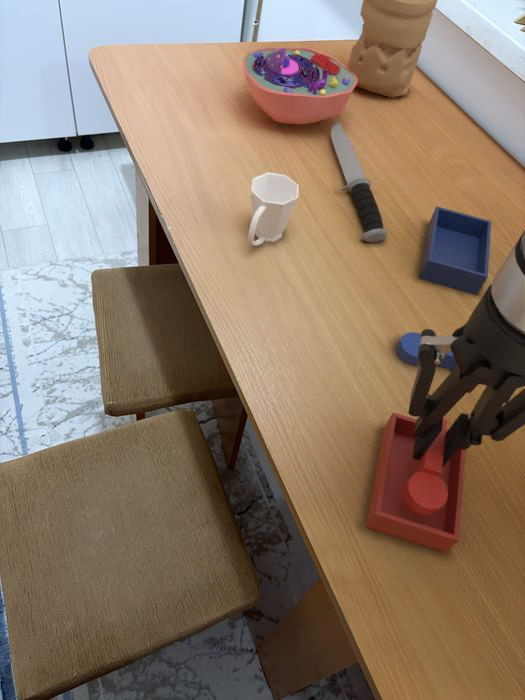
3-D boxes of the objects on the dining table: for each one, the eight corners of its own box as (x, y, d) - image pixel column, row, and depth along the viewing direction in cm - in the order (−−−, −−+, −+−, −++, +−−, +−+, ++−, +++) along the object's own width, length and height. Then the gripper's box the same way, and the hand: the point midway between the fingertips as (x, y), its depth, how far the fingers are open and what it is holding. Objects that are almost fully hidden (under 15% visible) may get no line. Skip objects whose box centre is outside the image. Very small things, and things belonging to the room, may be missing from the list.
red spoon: (412, 423, 64) (420, 411, 62) (448, 434, 64) (457, 423, 62) (400, 508, 58) (408, 498, 56) (439, 521, 58) (449, 511, 56)
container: (377, 64, 121) (404, -33, 107) (419, 94, 116) (453, -4, 101) (331, 77, 116) (353, -23, 101) (373, 109, 110) (402, 8, 96)
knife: (358, 247, 88) (390, 242, 88) (360, 233, 86) (393, 228, 86) (315, 129, 104) (343, 126, 105) (316, 115, 102) (344, 111, 102)
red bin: (445, 552, 61) (458, 540, 58) (365, 527, 61) (375, 514, 58) (454, 449, 68) (467, 434, 65) (383, 428, 69) (392, 412, 66)
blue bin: (477, 294, 84) (487, 277, 81) (419, 278, 84) (427, 260, 82) (481, 239, 91) (491, 221, 88) (428, 224, 92) (436, 206, 89)
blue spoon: (474, 359, 77) (482, 347, 75) (472, 383, 74) (481, 371, 72) (398, 336, 77) (404, 324, 75) (394, 359, 75) (400, 347, 73)
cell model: (343, 152, 101) (359, 90, 92) (229, 130, 101) (234, 66, 92) (350, 100, 111) (364, 40, 102) (246, 81, 111) (252, 18, 102)
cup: (299, 227, 88) (308, 183, 82) (269, 267, 82) (277, 223, 76) (258, 210, 89) (264, 165, 83) (226, 248, 84) (230, 203, 77)
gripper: (434, 315, 42) (354, 461, 60) (644, 376, 40) (496, 505, 59) (443, 247, 46) (367, 402, 65) (632, 300, 45) (498, 442, 64)
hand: (428, 451), depth 62 cm, fingers closed on red spoon, 2 cm apart
